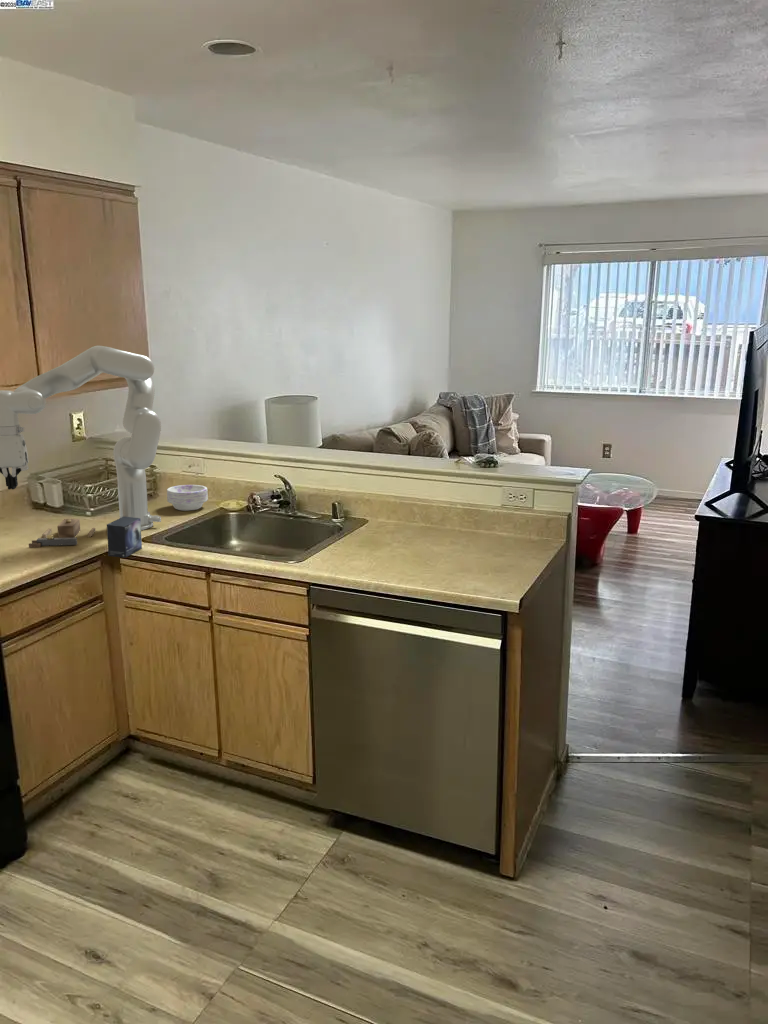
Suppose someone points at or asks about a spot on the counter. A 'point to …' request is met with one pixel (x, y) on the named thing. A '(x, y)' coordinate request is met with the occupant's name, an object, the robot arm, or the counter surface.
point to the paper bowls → (187, 496)
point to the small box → (124, 536)
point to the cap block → (68, 528)
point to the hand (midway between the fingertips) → (12, 488)
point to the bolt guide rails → (50, 532)
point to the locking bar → (56, 541)
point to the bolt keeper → (34, 544)
